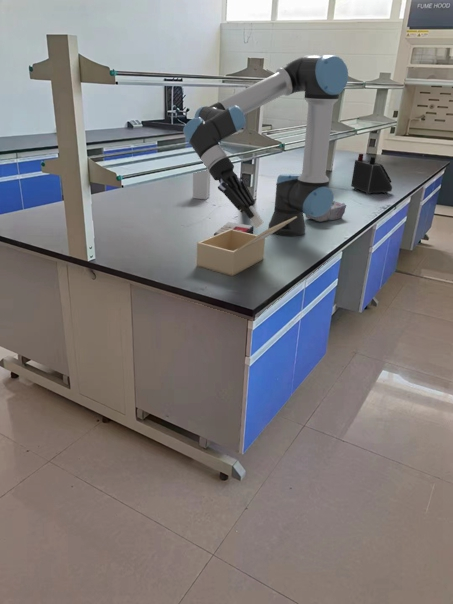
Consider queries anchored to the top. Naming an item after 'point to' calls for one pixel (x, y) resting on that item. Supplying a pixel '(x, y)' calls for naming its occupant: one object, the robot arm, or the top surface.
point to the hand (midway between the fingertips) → (259, 225)
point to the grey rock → (331, 212)
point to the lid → (265, 234)
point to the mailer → (229, 252)
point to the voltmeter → (370, 176)
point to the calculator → (235, 228)
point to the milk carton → (201, 184)
